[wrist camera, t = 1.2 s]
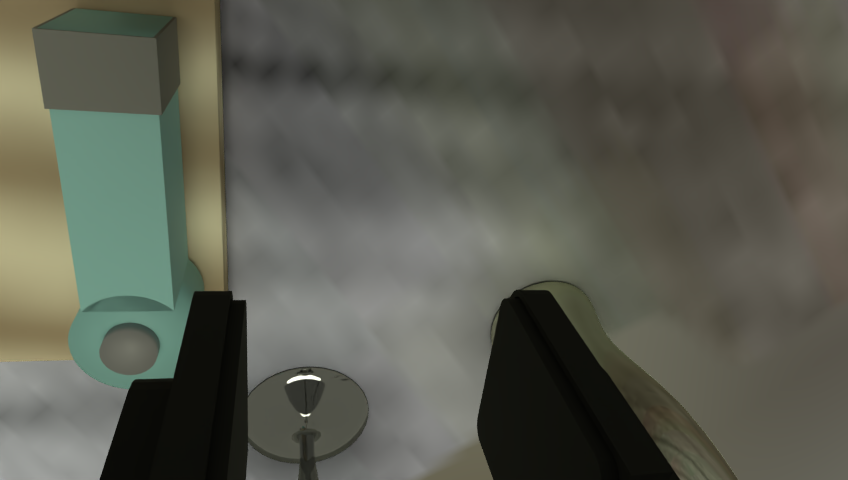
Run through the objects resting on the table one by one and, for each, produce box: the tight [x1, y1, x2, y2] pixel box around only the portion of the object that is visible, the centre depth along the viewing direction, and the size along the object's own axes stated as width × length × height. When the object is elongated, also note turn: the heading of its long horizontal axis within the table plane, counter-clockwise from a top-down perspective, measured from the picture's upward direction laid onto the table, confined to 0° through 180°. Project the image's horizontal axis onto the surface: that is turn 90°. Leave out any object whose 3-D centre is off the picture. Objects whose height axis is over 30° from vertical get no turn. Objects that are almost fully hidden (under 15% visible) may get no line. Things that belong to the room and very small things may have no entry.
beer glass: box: [491, 281, 738, 480], centre depth 29 cm, size 7×7×15 cm
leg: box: [32, 8, 204, 389], centre depth 23 cm, size 14×4×5 cm, turn 173°
